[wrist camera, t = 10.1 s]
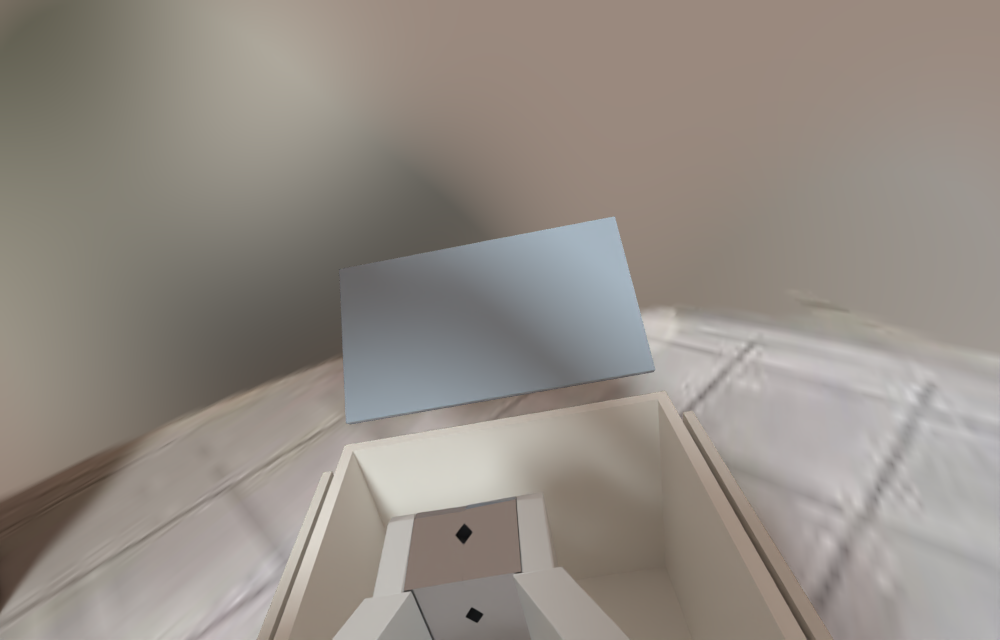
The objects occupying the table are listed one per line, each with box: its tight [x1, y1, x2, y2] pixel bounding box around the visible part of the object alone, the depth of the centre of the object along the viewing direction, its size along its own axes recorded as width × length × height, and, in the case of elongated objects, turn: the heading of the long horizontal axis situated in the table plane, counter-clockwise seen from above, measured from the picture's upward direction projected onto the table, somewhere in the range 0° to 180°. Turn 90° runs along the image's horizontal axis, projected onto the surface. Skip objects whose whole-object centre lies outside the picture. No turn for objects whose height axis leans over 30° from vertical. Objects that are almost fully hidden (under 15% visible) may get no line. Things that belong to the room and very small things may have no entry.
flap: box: [339, 217, 655, 424], centre depth 24 cm, size 14×8×1 cm
